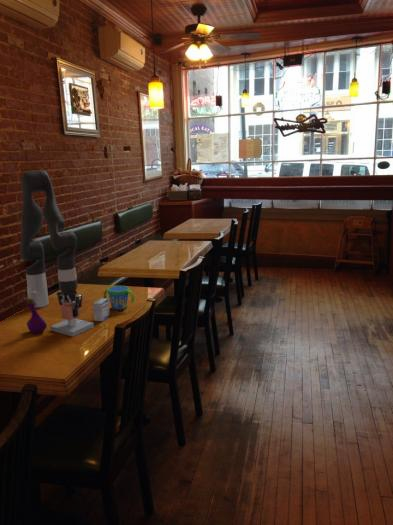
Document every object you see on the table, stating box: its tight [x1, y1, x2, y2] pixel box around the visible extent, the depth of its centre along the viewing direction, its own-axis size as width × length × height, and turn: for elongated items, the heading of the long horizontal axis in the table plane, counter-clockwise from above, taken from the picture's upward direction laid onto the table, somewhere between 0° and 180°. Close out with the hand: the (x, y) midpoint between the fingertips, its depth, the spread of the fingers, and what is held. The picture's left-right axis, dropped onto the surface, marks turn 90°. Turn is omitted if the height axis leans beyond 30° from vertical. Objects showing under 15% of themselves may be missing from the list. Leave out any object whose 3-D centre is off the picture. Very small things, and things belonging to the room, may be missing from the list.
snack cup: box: [103, 285, 135, 311], centre depth 213 cm, size 16×10×10 cm
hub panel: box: [50, 318, 95, 338], centre depth 188 cm, size 14×12×6 cm
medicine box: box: [92, 297, 111, 322], centre depth 199 cm, size 8×4×9 cm, turn 168°
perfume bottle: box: [25, 291, 48, 335], centre depth 184 cm, size 8×8×18 cm
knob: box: [60, 300, 81, 320], centre depth 186 cm, size 5×6×7 cm
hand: (71, 315), depth 187 cm, fingers closed on knob, 5 cm apart
